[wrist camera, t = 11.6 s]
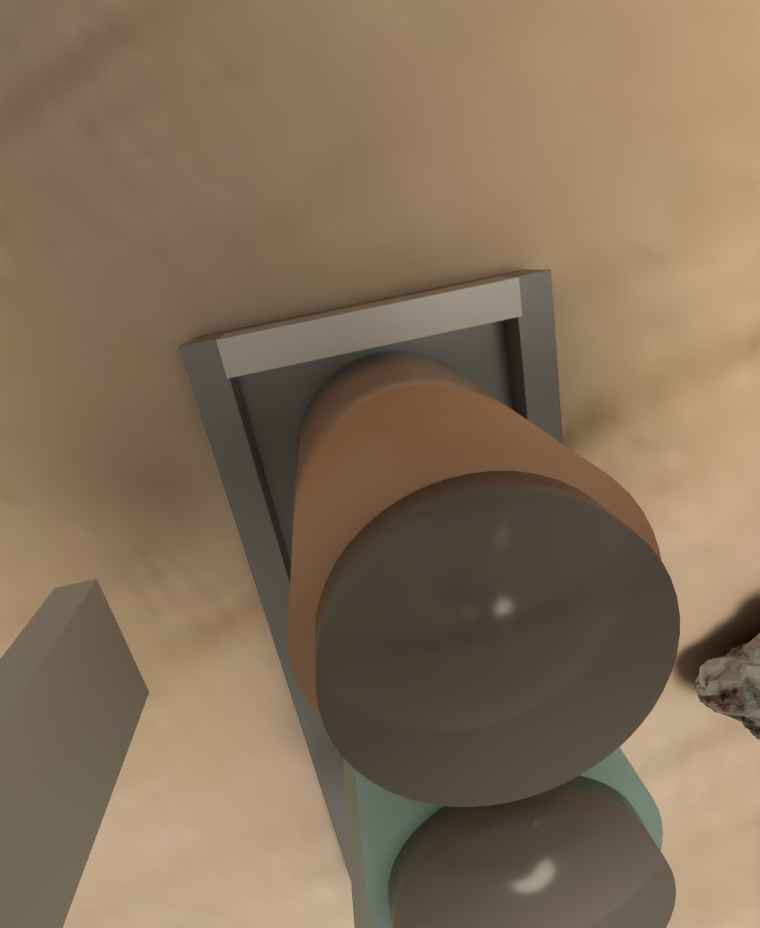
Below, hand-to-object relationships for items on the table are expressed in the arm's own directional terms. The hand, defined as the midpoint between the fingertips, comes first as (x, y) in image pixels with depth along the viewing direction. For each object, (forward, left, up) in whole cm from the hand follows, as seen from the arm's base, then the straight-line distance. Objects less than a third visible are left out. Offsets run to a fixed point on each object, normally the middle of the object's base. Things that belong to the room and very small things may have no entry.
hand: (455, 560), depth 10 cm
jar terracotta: (0, 0, -7) cm, 7 cm away
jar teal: (+6, 0, -7) cm, 9 cm away
